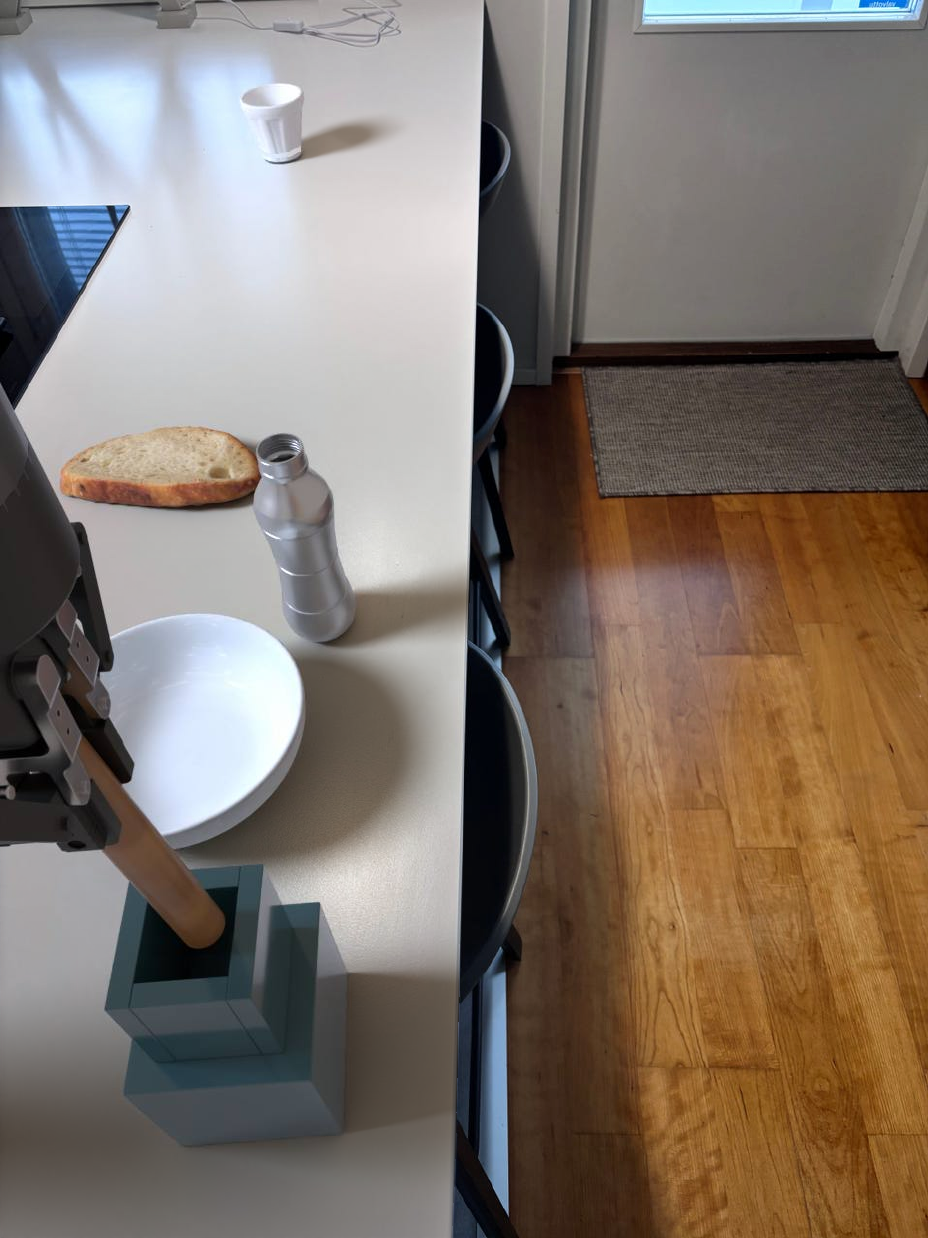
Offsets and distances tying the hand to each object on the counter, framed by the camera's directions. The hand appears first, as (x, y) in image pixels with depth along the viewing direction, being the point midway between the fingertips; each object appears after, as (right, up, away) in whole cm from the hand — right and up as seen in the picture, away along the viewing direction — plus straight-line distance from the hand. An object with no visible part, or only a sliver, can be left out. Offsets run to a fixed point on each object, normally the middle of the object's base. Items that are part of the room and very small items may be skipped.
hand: (102, 807), depth 38 cm
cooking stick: (+2, -8, +9) cm, 12 cm away
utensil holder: (+2, -21, +23) cm, 31 cm away
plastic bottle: (+2, +7, +48) cm, 49 cm away
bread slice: (-17, +22, +63) cm, 69 cm away
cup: (-15, +83, +116) cm, 143 cm away
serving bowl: (-8, -4, +39) cm, 40 cm away
